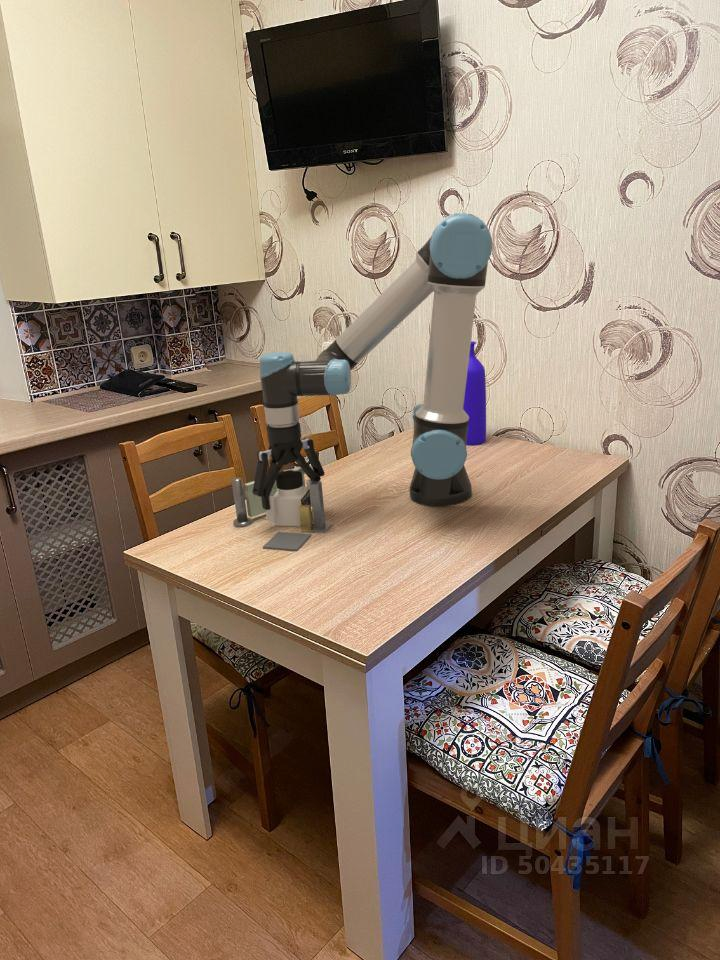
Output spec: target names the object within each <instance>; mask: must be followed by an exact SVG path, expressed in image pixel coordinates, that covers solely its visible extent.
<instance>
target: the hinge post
mask: <svg viewBox="0 0 720 960" xmlns="http://www.w3.org/2000/svg"><path fill="white" fill-rule="evenodd" d="M243 481H244V480H243V478H242V477H240V476H239V477H233V478H232V479H231V485H232V491H233V492H232V493H233V499H234V507H235V514H236V519H234V520H233V522H232V523H233V526H234V527H235V528H236V527H238V528H243V527H248V526H251V525H252V524H253V519H252V517H249V516H248V511H247V503H246V496H245V489H244V482H243Z"/></svg>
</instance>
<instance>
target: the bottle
mask: <svg viewBox="0 0 720 960" xmlns="http://www.w3.org/2000/svg"><path fill="white" fill-rule="evenodd" d="M476 344H477V341H473V340H471V345H470V354H469V362H468V371H467V380H466V388H465V397H464V405H463V410H464V411H465V412H466V413H467V415H468V416H469V423H468V432H467V440H466V446H479V445H483V444H485V443H486V441H487V440H486V439H487V387H486V386H487V385H486V383H487V382H486V381H487V380H486V370H485V366H484V365H483V364H482V362H481V361H480V360H479V359H478V358H477V357H476V353H475V345H476Z"/></svg>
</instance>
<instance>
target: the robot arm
mask: <svg viewBox="0 0 720 960" xmlns="http://www.w3.org/2000/svg"><path fill="white" fill-rule="evenodd" d="M492 253H493V239H492V234H491V232H490V229H489V228H488V226H487V224H485V222H484V221H483V220H482V219H480V218H479V217H478V216H476V215H473V214H471V213H465V212H461V213H457V212H456V213H452V214H450V215H448V216H446V217H444V218H443V219H441V221H440V222H439V223H437V225H436V226H435V227H434V230H433V232H432V234H431V236H430V237H429V238H428V239H427V241H426V242H425V244H424V245H423V246H422V247H421V248H420V249H419V250H418V251H416V253H415V254H416V255H415V260H414V261H413V263H411V264H410V265H409V266H408V267H407V268H406V269H405V270H404V271H403V272H402V273H401V274H400V275H399V276H398V277H397V278H396V279H395V280H394V281H393V282H392V283H391V284H390V285H389V286H388V287H387V288H386V289H385V290H384V291H383V292H382V293H381V294H380V295H379V296H378V297H377V298H376V299H375V300H374V301H373V302H372V303H371V304H370V305H369V306H368V307H367V308H366V309H365V310H364V311H363V312H362V313H361V314H360V315H359V316H358V317H357V318H356V319H355V320H354V321H353V322H352V323H351V324H350V325H349V326H348V327H347V328H346V329H345V330H344V331H342V333H341V334H339V336H337V338H336V339H335V340H334V341H332V343H330V345H329V346H328V347H327V348H326V349H324V350H323V351H322V352H321V353H320V354H319V355H318V356H317V358H316V359H315V360H306V361H298V360H296V361H295V358H294V354H293V353H291V352H290V351H277V352H276V351H275V352H269V353H265V354H263V355H262V356H261V357H260V358H259V373H260V375H259V379H260V385H261V391H262V393H261V394H262V399H263V408H264V416H265V423H266V425H267V426H266V434H267V442H268V445H269V446H268V449H267V450H263V451H262V450H258V451H256V456H257V457H256V459H257V465H256V470H255V476H254V480H253V481H254V486H253V491H252V493H253V494H255V495H257V496H259V497H261V499H262V507H263V509H265V510H266V513H265V514H266V520H267V521H268V522H269V523H271V524H274V525H275V523H276V516H275V507H274V499H273V496H272V495H270V493H271V491H272V488H273V486H274V483H275V481H276V478H277V476H278V473H279V472H281V471H280V470H282V468H283V466H286V465H288V464H290V463H296V464H297V466H298V467H300V468H301V469H302V470H303V471H304V475H306V476H307V477H308V479H306V480H305V484H306V487H309V490H310V484H311V483H312V482H313V481H321V480H322V478H321V477H324V476H325V469H323V466H322V463H321V461H320V459H319V456H318V455H317V453H316V450H315V445H314V440H313V439H311V438H308V437H305V438H303V439H301V438H302V430H301V429H302V427H301V423H300V418H301V417H300V410H299V408H300V407H299V401H298V397H311V396H313V397H316V396H333V397H335V396H337V395H347V394H348V393H350V391H351V388H352V387H351V386H352V370H353V369H355V367H356V366H357V365H358V364H359V363H360V362H361V361H362V360H363V359H364V358H365V357H366V356H368V354H369V353H371V351H373V350H374V348H376V347H377V346H378V345H379V344H380V343H381V342H382V341H383V340H384V339H385V338H386V337H387V336H389V335H390V333H392V331H394V330H395V329H396V328H397V327H398V326H399V325H400V324H401V323H402V322H403V321H404V320H406V318H407V317H408V316H410V314H412V313H413V312H414V311H415V309H417V308H418V307H419V306H420V305H421V304H422V303H424V302H425V300H426V299H428V297H429V296H431V294H432V293H433V300H432V309H431V319H430V320H431V321H430V330H429V331H430V332H429V341H428V352H427V360H426V361H427V364H426V371H425V372H426V373H425V384H424V393H423V403H419V404H417V405H415V406H414V407H413V411H412V412H413V413H412V419H413V434H412V435H413V436H412V446H411V449H410V457H411V461H412V463H413V465H414V471H413V474H412V478H411V482H410V486H409V498H410V499H411V501H413V502H414V503H416V504H419V505H423V506H427V507H428V506H429V507H448V506H454V505H458V504H461V503H464V502H466V501H468V500H469V499H471V497H472V495H473V492H472V491H473V488H472V483H471V480H470V477H469V474H468V472H467V470H466V467H465V464H466V461H467V458H468V451H467V445H466V440H467V432H468V423H469V416H468V415H467V413H466V412H465V411H464V410H463V405H464V397H465V388H466V380H467V371H468V362H469V354H470V345H471V341H472V338H473V337H472V336H473V335H472V334H473V326H474V318H475V317H474V316H475V312H476V311H475V308H476V302H477V300H476V299H477V296H478V294H479V293H480V292H481V291H483V289H485V287H486V282H487V281H486V280H487V275H488V274H487V272H488V265H489V260H490V257H491V256H492ZM302 449H303V450H304V452H305V454H306V456H307V460H308V461H309V463H310V465H311V466H310V465H309V463H308V462H307V461H306V459H305V457H304V455H303V454H302V453H301V451H302ZM270 456H271V459H270ZM310 500H311V492H310ZM311 508H312V502H311Z"/></svg>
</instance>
